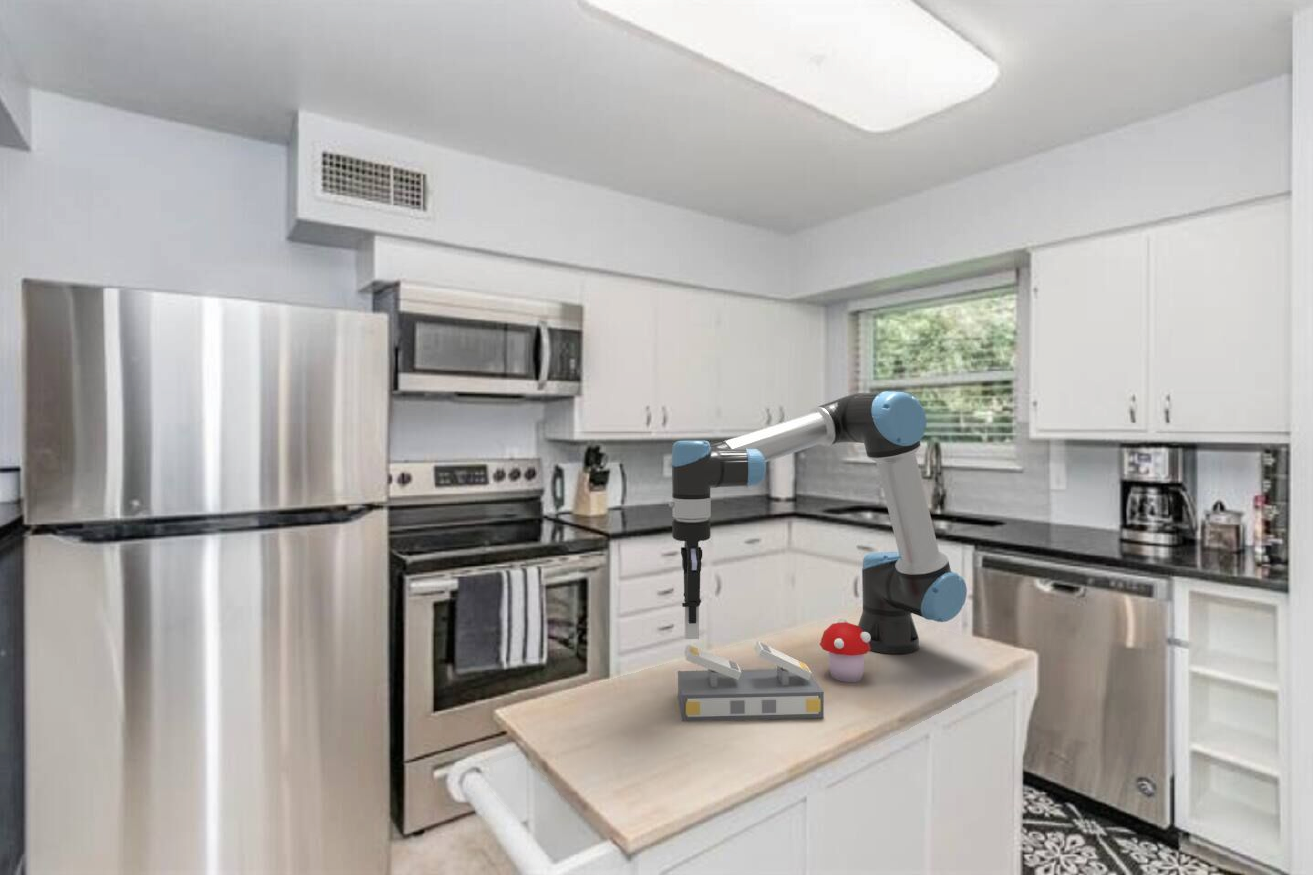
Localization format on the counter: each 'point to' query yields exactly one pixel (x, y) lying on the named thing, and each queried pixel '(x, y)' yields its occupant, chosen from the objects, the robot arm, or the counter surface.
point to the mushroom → (846, 650)
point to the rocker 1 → (712, 662)
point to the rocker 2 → (782, 660)
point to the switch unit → (748, 695)
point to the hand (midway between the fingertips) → (691, 637)
